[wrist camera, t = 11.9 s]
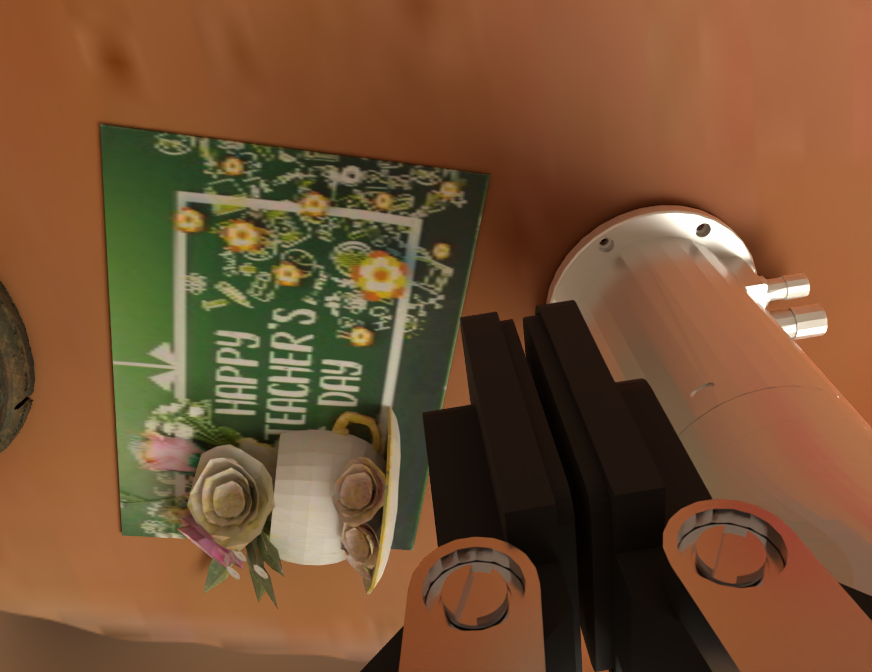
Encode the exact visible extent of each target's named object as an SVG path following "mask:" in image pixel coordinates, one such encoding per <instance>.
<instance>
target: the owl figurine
mask: <svg viewBox="0 0 872 672" xmlns="http://www.w3.org/2000/svg"><path fill="white" fill-rule="evenodd" d="M35 381H36V380H35V376H34V361H33V357H32V353H31V348H30V346H29V340H28V337H27V333H26V328H25V326H24V324H23V322H22V319H21V317H20V316H19V313H18V310H17V308H16V307H15V304H14V303H12V299H11V297H10V296H9V294H8V292H7V291H6V288H4V286H3V285H2V283H1V282H0V453H1V452H2V451H3V450H5V449H6V448H7V447H8V446H9V445H10V443H11V442H12V441H13V440H14V438H15V437H16V436H17V434H18V433H20V432H19V431H20V429H21V428H22V427H23V425H24V423H25V420H26V418H27V415H28V413H29V411H30V409H31V405H32V401H33V400H30V399H28V400H27V401H26V402H25V403H24V405H23V406H21V407H20V408H19V409H16V410H15V409H14V408H15V406H16V405H17V404H18V403H19V402H21V401H22V400H23V399H24V398H25V397H26V398H27V396H29V395H32V393H33V391H34V382H35Z"/></svg>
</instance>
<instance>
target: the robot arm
mask: <svg viewBox="0 0 872 672" xmlns="http://www.w3.org/2000/svg"><path fill="white" fill-rule="evenodd" d="M700 224H701V225H700ZM699 225H700V226H699ZM698 226H699V227H698ZM605 238H606V240H605V241H604V242H601V241H602V240H603V239H605ZM809 291H810V284H809V280H808V278H807V276H806V275H805V274H804V273H797V274H791V275H784V276H780V277H779V278H773V279H765V278H764V277H763V276H758V275H757V271H756V268H755V264H754V261H753V258H752V255H751V253H750V252H749V250H748V248H747V247H746V245H745V243H744V242H743V240H742V239H741V238H740V237H739V236H738V235H737V234H736V233H735V232H734V231H733V230H732V229H731V228H730V227H729V226H727V225H726V224H725V223H724V222H722V221H721V220H720V219H718V218H717V217H715V216H713V215H711V214H708V213H706V212H704V211H702V210H699V209H694V208H690V207H685V206H678V205H658V206H651V207H645V208H639V209H636V210H633V211H630V212H627V213H624V214H621V215H619V216H617V217H615V218H613V219H611V220H609V221H607V222H605V223H603V224H602V225H600V226H598V227H597V228H596V229H594V230H593V231H592V232H590V233H589V234H588V235H586V236H585V237H584V238H582V239H581V240H580V242H579V243H578V244H577V245H576V246H575V247H574V248H573V249H572V250H571V251H570V252H569V253H568V254H567V256H566V257H565V259H564V260H563V262H562V263H561V265H560V266H559V268H558V269H557V271H556V273H555V276H554V278H553V280H552V283H551V285H550V287H549V291H548V296H547V301H546V304H543V305H537V306H536V312H535V314H536V316H529V317H524V318H523V328H524V341H525V353H526V357H525V354H524V351H523V348H522V345H521V342H520V339H519V336H518V333H517V330H516V327H515V324H514V321H513V319H510V320H504V321H500V320H499V317H498V314H497V312H491V313H485V314H479V315H472V316H466V317H460V325H461V333H462V341H463V349H464V356H465V364H466V371H467V379H468V387H469V394H470V402H471V405H467V406H460V407H454V408H448V409H441V410H435V411H428V412H422V415H423V424H424V433H425V441H426V450H427V458H428V467H429V475H430V484H431V492H432V500H433V509H434V517H435V526H436V534H437V543H438V548H436V549H435V550H434V551H432V552H431V553H430V554H429V555H427V556H426V557H425V558H423V560H422V561H421V562H420V564H419V565H418V567H417V568H416V569H415V571H414V572H413V574H412V578H411V581H410V584H409V587H408V593H407V602H406V611H405V620H404V626H403V627H402V628H401V629H400V630H399V631H398V632H397V633H396V634H395V635H394V637H393V638H392V639H391V640H390V641H389V642H388V643H387V644H386V645H385V646H384V647H383V648H382V649H381V650H380V651H379V652H378V653H377V655H376V656H375V657H374V658H373V659H372V660H371V661H370V662H369V663H368V664H367V665H366V666H365V667H364V668H363V670H361V671H360V672H582V654H581V633H580V626H581V630H582V633H583V637H584V640H585V644H586V647H587V651H588V654H589V657H590V661H591V664H592V667H593V669H594V671H595V672H597V671H604V670H609V672H872V428H871V426H870V425H869V424H868V423H867V422H866V421H865V420H864V419H863V418H862V417H861V415H860V414H859V413H858V412H857V411H856V410H855V409H854V407H853V406H852V405H851V404H850V403H849V402H848V401H847V400H846V399H845V397H844V396H843V395H842V394H841V393H840V392H839V391H838V390H837V388H836V387H835V386H834V385H833V384H832V383H831V382H830V381H829V380H828V378H827V377H826V376H825V375H824V374H823V373H822V372H821V371H820V369H819V368H818V367H817V366H816V365H815V364H814V363H813V362H812V361H811V359H810V358H809V357H808V356H807V355H806V354H805V353H804V352H803V350H802V349H801V348H800V347H799V346H798V345H797V344H796V343H795V342H794V340H795V339H802V338H808V337H815V336H821V335H823V334H824V333H825V332H826V329H827V317H826V313H825V310H824V309H823V307H822V306H821V305H820V304H818V303H813V304H807V305H800V306H794V307H788V308H786V309H784V310H778V311H772V312H769V311H768V310H767V309H766V308H765V306H767V305H768V303H769V301H774V300H780V299H783V300H788V299H794V298H800V297H806V296H807V295H808V294H809Z"/></svg>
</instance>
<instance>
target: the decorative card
mask: <svg viewBox="0 0 872 672" xmlns="http://www.w3.org/2000/svg"><path fill="white" fill-rule="evenodd" d="M100 131H101V150H102V169H103V187H104V206H105V225H106V243H107V262H108V281H109V299H110V318H111V337H112V356H113V374H114V393H115V412H116V430H117V449H118V468H119V486H120V505H121V524H122V535H126V536H146V537H166V538H185V539H189V540H191V541H192V542H193V543H194V544H195V545H197V546H198V547H199V548H200V549H201V550H203V551H204V552H205V553H206V554H208V555H209V556H210V557H211V558H213V559H212V561H211V563H210V565H209V570H208V575H207V580H206V585H205V590H204V593H205V592H207V591H209V590H210V589H212V588H213V587H215V586H216V585H218V584H220V583H221V582H223V581H224V580H226V579H227V578H228V575H229V573H230V574H231V576H233V577H234V578H236V579H237V580H238V579H240V576H239V574H238V573H237V572H236V571H235V570H234V569H233V568H232V566H233V564H235V565H237V566H239V567H240V568H242V569H243V567H242V561H243V562H245V561H246V557H247V562H248V566H249V570H250V574H251V578H252V581H253V585H254V589H255V592H256V596H257V599H258V602H259V601H260V599H261V598H262V596H263V595H264V593H265V592H266V591H267V593H268V595H269V596H270V598H271V599H272V601H273V602H274V604H275V606H276V607H277V604H276V600H275V596H274V591H273V587H272V583H271V579H270V576H269V574H268V573H267V571H266V570H265V568H264V560H265V562H266V563H267V564H268V565H269V566H270V567H271V568H272V569H273V570H275V571H277V572H278V573H280V574H281V575H283V576H284V574H283V570H282V566H281V561H280V559H281V560H284V561H288V562H292V563H297V564H302V565H325V564H333V563H337V562H340V561H343V560H347V561H348V562H349V563H350V564H351V566H352V567H353V568H354V569H355V570H356V571H357V572H359V573H360V574H361V575H362V576H363V580H364V585H365V589H366V593H367V594H370V593H371V592H372V590H373V589H374V588H375V586H376V584H377V583H378V581H379V580H380V578H381V577H382V575H383V572H384V569H385V566H386V563H387V561H388V557H389V553H390V549H402V550H413V547H414V542H415V537H416V532H417V527H418V523H419V518H420V513H421V508H422V503H423V498H424V493H425V489H426V484H427V479H428V474H429V467H428V458H427V450H426V441H425V433H424V424H423V415H422V412H428V411H435V410H441V409H442V406H443V401H444V397H445V392H446V387H447V382H448V377H449V372H450V367H451V363H452V358H453V353H454V348H455V343H456V338H457V333H458V329H459V324H460V317H461V314H462V309H463V304H464V300H465V295H466V290H467V285H468V280H469V275H470V270H471V266H472V261H473V256H474V251H475V246H476V241H477V237H478V232H479V227H480V222H481V217H482V212H483V207H484V203H485V198H486V193H487V188H488V183H489V178H490V174H485V173H477V172H469V171H461V170H454V169H446V168H438V167H431V166H423V165H415V164H407V163H400V162H392V161H384V160H376V159H369V158H361V157H353V156H346V155H338V154H330V153H322V152H315V151H307V150H299V149H292V148H284V147H276V146H268V145H261V144H253V143H245V142H238V141H230V140H222V139H214V138H207V137H199V136H191V135H184V134H176V133H168V132H160V131H153V130H145V129H137V128H130V127H122V126H114V125H106V124H101V125H100ZM245 546H246V549H247V556H246V557H245V556H244V555H243V553H242V552H241V551H242V549H243V548H244V547H245ZM277 609H278V608H277Z"/></svg>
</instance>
